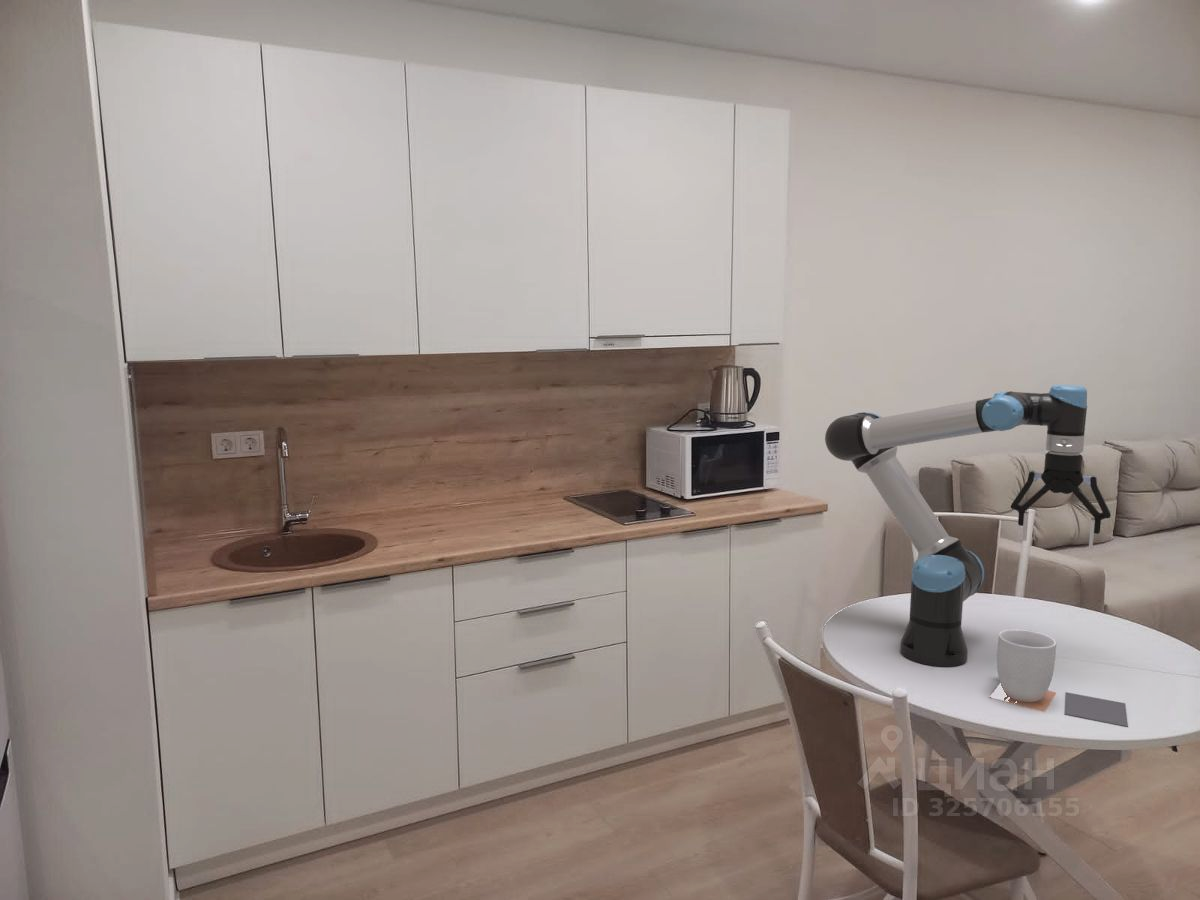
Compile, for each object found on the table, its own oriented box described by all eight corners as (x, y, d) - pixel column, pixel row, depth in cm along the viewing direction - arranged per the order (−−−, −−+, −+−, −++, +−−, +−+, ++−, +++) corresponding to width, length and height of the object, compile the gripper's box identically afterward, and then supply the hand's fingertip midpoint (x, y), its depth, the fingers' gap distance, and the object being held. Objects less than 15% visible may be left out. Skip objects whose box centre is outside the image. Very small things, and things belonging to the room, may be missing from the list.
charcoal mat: (1064, 717, 171) (1064, 713, 171) (1065, 695, 182) (1065, 692, 181) (1127, 730, 166) (1128, 726, 166) (1124, 706, 176) (1125, 703, 176)
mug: (974, 679, 188) (978, 623, 187) (1020, 677, 190) (1024, 622, 188) (1013, 708, 174) (1018, 648, 172) (1063, 706, 175) (1068, 646, 173)
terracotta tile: (987, 700, 179) (987, 697, 179) (1001, 682, 189) (1002, 679, 189) (1044, 715, 173) (1044, 711, 172) (1056, 696, 182) (1056, 692, 182)
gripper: (1002, 450, 195) (996, 539, 198) (1128, 459, 183) (1120, 553, 186) (1005, 447, 202) (999, 533, 205) (1127, 454, 189) (1119, 546, 192)
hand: (1056, 543), depth 195 cm, fingers open, 13 cm apart
